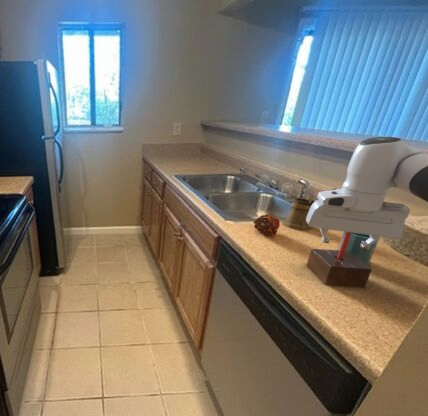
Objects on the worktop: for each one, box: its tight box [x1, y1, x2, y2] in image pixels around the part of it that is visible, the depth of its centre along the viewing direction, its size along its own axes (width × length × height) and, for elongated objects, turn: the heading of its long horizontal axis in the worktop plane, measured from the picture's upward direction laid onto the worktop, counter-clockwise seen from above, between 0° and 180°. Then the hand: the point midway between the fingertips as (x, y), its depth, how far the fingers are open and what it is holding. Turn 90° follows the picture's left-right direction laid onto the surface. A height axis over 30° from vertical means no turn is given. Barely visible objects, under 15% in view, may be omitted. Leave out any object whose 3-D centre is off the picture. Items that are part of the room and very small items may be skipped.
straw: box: [337, 232, 351, 260], centre depth 78 cm, size 1×1×20 cm
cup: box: [337, 231, 379, 267], centre depth 88 cm, size 8×8×10 cm
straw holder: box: [306, 248, 373, 288], centre depth 81 cm, size 10×10×6 cm
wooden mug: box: [283, 187, 337, 231], centre depth 110 cm, size 9×14×18 cm, turn 47°
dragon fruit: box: [253, 213, 280, 236], centre depth 108 cm, size 8×8×12 cm
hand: (344, 245), depth 78 cm, fingers open, 8 cm apart
